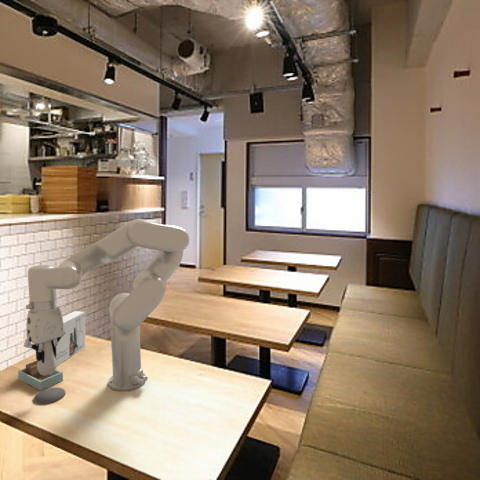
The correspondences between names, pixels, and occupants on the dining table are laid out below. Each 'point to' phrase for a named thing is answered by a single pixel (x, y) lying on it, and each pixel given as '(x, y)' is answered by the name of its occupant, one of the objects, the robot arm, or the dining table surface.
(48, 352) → the salt shaker
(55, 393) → the coaster
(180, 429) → the dining table surface
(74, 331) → the skincare box
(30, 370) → the walnut block
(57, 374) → the tray
